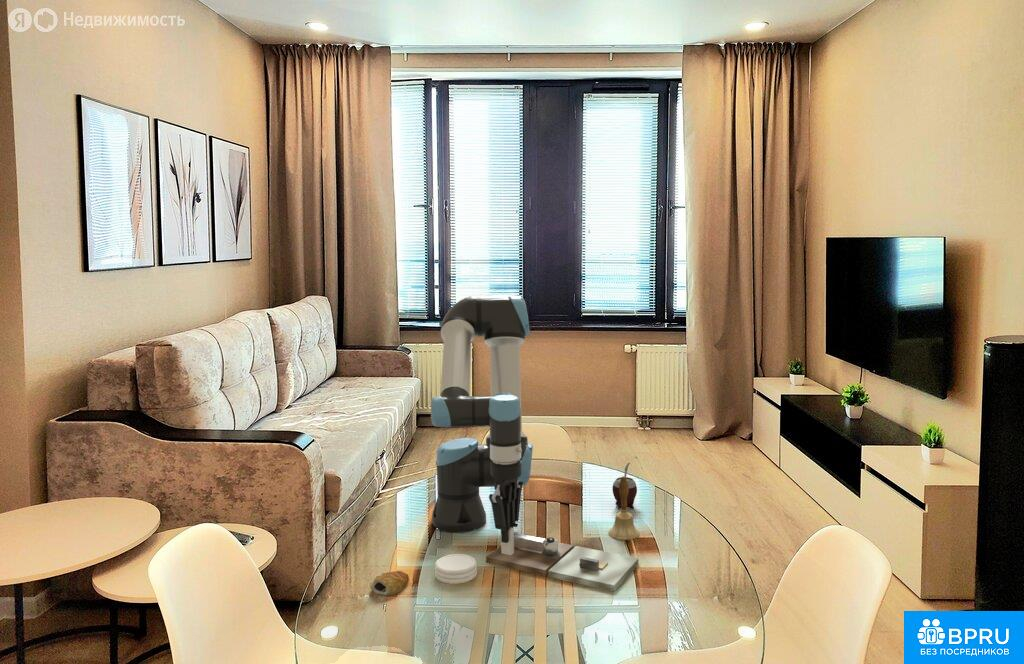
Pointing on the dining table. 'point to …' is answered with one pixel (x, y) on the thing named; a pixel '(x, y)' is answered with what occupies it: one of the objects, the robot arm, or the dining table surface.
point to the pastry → (390, 583)
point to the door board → (570, 565)
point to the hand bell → (623, 517)
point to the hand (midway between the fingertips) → (507, 553)
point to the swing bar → (536, 544)
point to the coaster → (455, 568)
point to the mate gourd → (631, 492)
